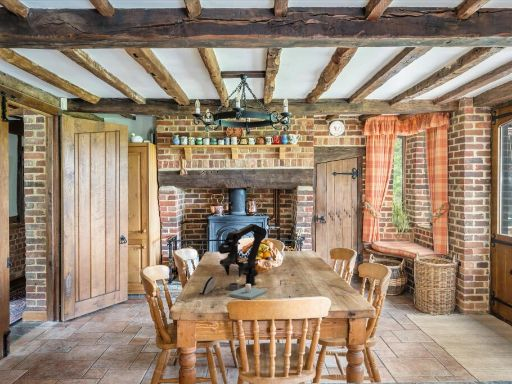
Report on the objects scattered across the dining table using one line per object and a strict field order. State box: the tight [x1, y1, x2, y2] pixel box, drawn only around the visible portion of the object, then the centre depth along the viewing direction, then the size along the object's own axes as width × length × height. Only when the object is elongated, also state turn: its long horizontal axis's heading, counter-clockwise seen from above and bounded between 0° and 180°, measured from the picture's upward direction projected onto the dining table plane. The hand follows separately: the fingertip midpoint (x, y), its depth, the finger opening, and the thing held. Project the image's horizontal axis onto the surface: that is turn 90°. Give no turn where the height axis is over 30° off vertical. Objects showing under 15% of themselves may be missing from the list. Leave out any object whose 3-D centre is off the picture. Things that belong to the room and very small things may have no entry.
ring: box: [227, 282, 241, 291], centre depth 261 cm, size 7×7×3 cm
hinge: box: [197, 275, 217, 295], centre depth 256 cm, size 17×5×10 cm, turn 169°
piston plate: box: [228, 283, 268, 300], centre depth 248 cm, size 18×16×6 cm
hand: (233, 276), depth 261 cm, fingers open, 9 cm apart
